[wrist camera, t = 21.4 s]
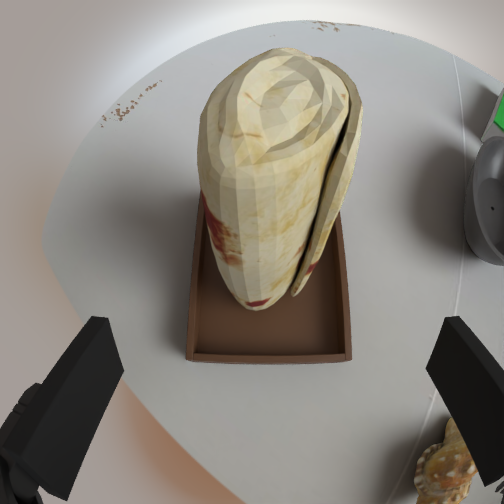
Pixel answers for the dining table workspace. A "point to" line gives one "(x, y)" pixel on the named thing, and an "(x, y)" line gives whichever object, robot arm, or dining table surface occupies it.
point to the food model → (276, 169)
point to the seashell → (445, 470)
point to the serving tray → (269, 312)
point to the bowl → (486, 203)
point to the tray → (496, 120)
